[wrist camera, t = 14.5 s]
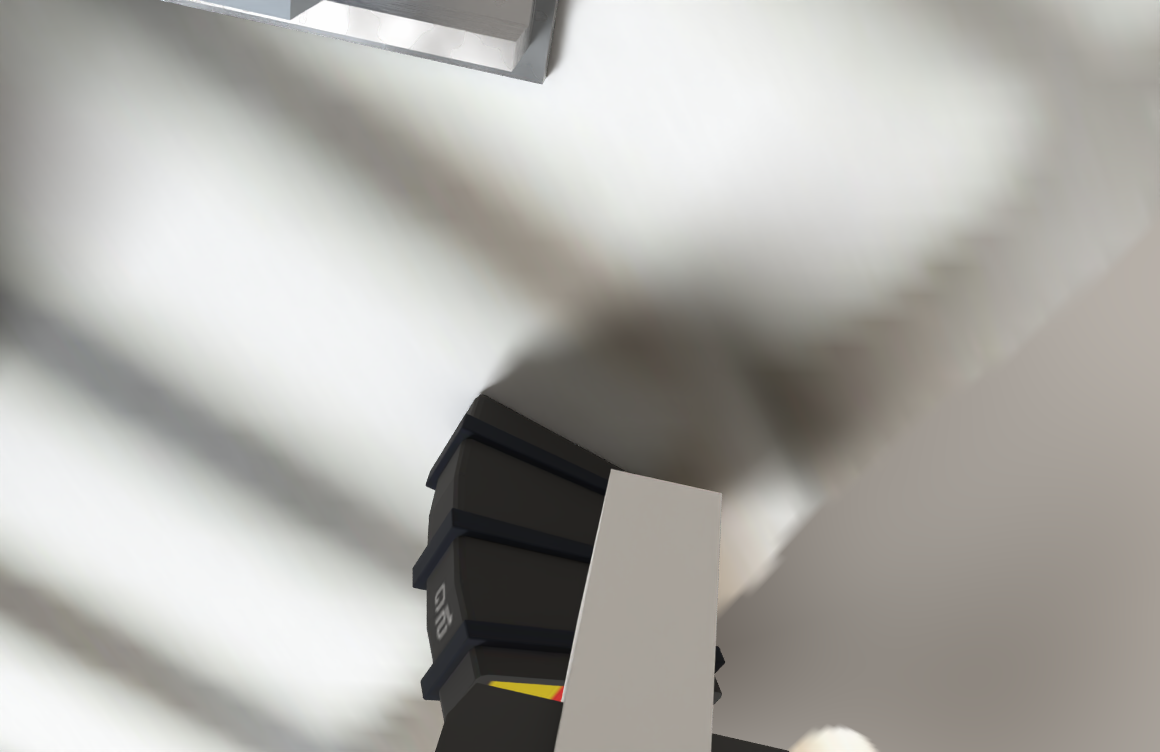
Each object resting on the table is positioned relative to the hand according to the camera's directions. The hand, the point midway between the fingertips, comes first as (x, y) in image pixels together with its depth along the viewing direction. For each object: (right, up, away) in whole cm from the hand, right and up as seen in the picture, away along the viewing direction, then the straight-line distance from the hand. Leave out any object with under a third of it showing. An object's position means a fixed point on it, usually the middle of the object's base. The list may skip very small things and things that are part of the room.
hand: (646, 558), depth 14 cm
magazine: (0, -2, +35) cm, 35 cm away
